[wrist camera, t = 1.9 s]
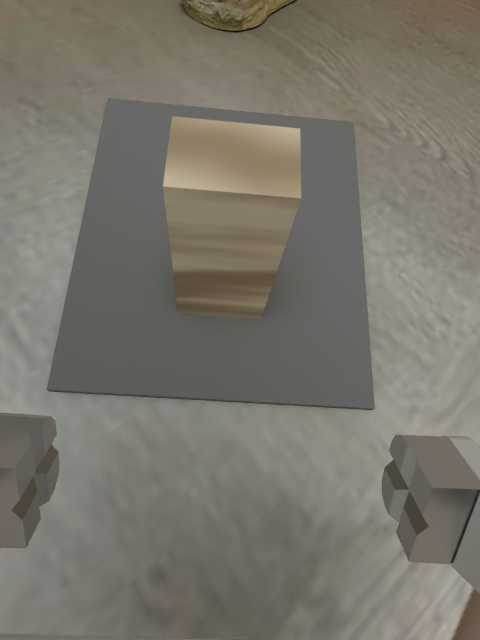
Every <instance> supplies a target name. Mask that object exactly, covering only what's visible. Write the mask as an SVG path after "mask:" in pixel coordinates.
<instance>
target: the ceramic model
mask: <svg viewBox="0 0 480 640" xmlns="http://www.w3.org/2000/svg"><path fill="white" fill-rule="evenodd" d="M292 1H294V0H182V3H183V6H184V8H185V10H186V12H187V14H188V15H189V16H190V17H192V18H194V19H195V20H197V21H199V22H201V23H203V24H205V25H208V26H210V27H213V28H217V29H223V30H230V31H237V30H238V31H239V30H245V29H248V28H253V27H255V26H258V25H259V24H261V23H262V22H263V21H264V20H265V19H266V18H267V17H268V15H269V14H270V13H272V12H274V11H276V10H278V9H279V8H281V7H282V6H284V5H286V4H288V3H290V2H292Z"/></svg>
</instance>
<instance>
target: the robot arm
mask: <svg viewBox="0 0 480 640" xmlns="http://www.w3.org/2000/svg"><path fill="white" fill-rule="evenodd" d="M56 435H57V432H56V424H55V420H54V419H53V418H52V416H41V415H27V414H13V413H0V548H26V547H27V545H28V543H29V541H30V539H31V537H32V535H33V533H34V531H35V529H36V527H37V525H38V523H39V521H40V519H41V518H40V509H39V507H40V506H42V505H43V504H45V503H46V502H48V501H49V500H50V498H51V496H52V493H53V491H54V489H55V486H56V482H57V478H58V473H59V453H58V451H57V450H56V449H55V448H54V447H53V446H52V445H51V444H52V442H53V440H54V438H55V436H56ZM389 451H390V453H391V455H392V457H393V459H394V460H393V461H392V462H390V463H389V464H388V465H387V466H386V467H385V468H384V473H383V477H382V496H383V500H384V505H385V507H386V510H387V512H388V514H389V515H390V516H391V517H392V518H394V519H395V520H396V521H397V522H398V523H399V524H398V528H397V531H396V533H397V536H398V538H399V540H400V542H401V545H402V547H403V549H404V552H405V554H406V556H407V558H408V561H409V562H424V563H440V564H453V565H452V567H453V568H454V569H455V570H456V571H457V572H458V573H459V574H460V575H461V576H462V577H463V578H464V579H466V580H467V581H468V582H469V583H470V584H471V585H472V586H473V587H474V588H475V589H476V590H477V591H478V592H479V593H480V448H479V447H478V446H477V445H476V443H475V442H474V441H473V440H472V439H470V438H468V437H466V436H442V437H438V436H414V435H395V437H394V438H393V440H392V442H391V445H390V449H389ZM0 640H236V639H194V638H153V637H112V636H70V635H29V634H0Z"/></svg>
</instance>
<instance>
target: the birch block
mask: <svg viewBox="0 0 480 640" xmlns="http://www.w3.org/2000/svg"><path fill="white" fill-rule="evenodd" d="M163 192H164V200H165V208H166V217H167V225H168V233H169V242H170V250H171V259H172V267H173V275H174V284H175V292H176V300H177V309H178V314H192V315H207V316H221V317H236V318H250V319H261V318H262V315H263V312H264V309H265V306H266V303H267V300H268V297H269V294H270V291H271V288H272V285H273V282H274V279H275V276H276V273H277V270H278V267H279V264H280V261H281V258H282V255H283V252H284V249H285V246H286V243H287V240H288V237H289V234H290V231H291V228H292V225H293V222H294V219H295V216H296V213H297V210H298V207H299V204H300V201H301V144H300V128H289V127H279V126H268V125H258V124H248V123H237V122H227V121H216V120H206V119H196V118H185V117H175V116H172V121H171V128H170V136H169V144H168V151H167V159H166V166H165V174H164V182H163Z"/></svg>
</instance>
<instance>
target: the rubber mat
mask: <svg viewBox="0 0 480 640" xmlns="http://www.w3.org/2000/svg"><path fill="white" fill-rule="evenodd" d="M172 116H175V117H185V118H196V119H206V120H216V121H227V122H237V123H248V124H258V125H268V126H279V127H289V128H300V144H301V201H300V204H299V207H298V210H297V213H296V216H295V219H294V222H293V225H292V228H291V231H290V234H289V237H288V240H287V243H286V246H285V249H284V252H283V255H282V258H281V261H280V264H279V267H278V270H277V273H276V276H275V279H274V282H273V285H272V288H271V291H270V294H269V297H268V300H267V303H266V306H265V309H264V312H263V315H262V318H261V319H250V318H236V317H221V316H207V315H192V314H178V309H177V300H176V292H175V284H174V275H173V267H172V259H171V250H170V242H169V233H168V225H167V217H166V208H165V200H164V192H163V182H164V174H165V166H166V159H167V151H168V144H169V136H170V128H171V121H172ZM47 390H48V391H55V392H72V393H90V394H107V395H124V396H141V397H159V398H176V399H193V400H210V401H228V402H245V403H262V404H280V405H297V406H314V407H331V408H349V409H366V410H373V409H375V408H374V394H373V381H372V367H371V353H370V340H369V326H368V313H367V299H366V286H365V272H364V259H363V245H362V232H361V218H360V205H359V191H358V178H357V164H356V150H355V137H354V123H353V122H346V121H336V120H326V119H316V118H305V117H295V116H285V115H275V114H264V113H254V112H244V111H234V110H223V109H213V108H203V107H193V106H183V105H172V104H162V103H152V102H142V101H131V100H121V99H111V98H108V99H107V104H106V109H105V114H104V119H103V123H102V128H101V133H100V138H99V143H98V147H97V152H96V157H95V162H94V166H93V171H92V176H91V181H90V186H89V190H88V195H87V200H86V205H85V210H84V214H83V219H82V224H81V229H80V233H79V238H78V243H77V248H76V253H75V257H74V262H73V267H72V272H71V277H70V281H69V286H68V291H67V296H66V300H65V305H64V310H63V315H62V320H61V324H60V329H59V334H58V339H57V344H56V348H55V353H54V358H53V363H52V367H51V372H50V377H49V382H48V387H47Z"/></svg>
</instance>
